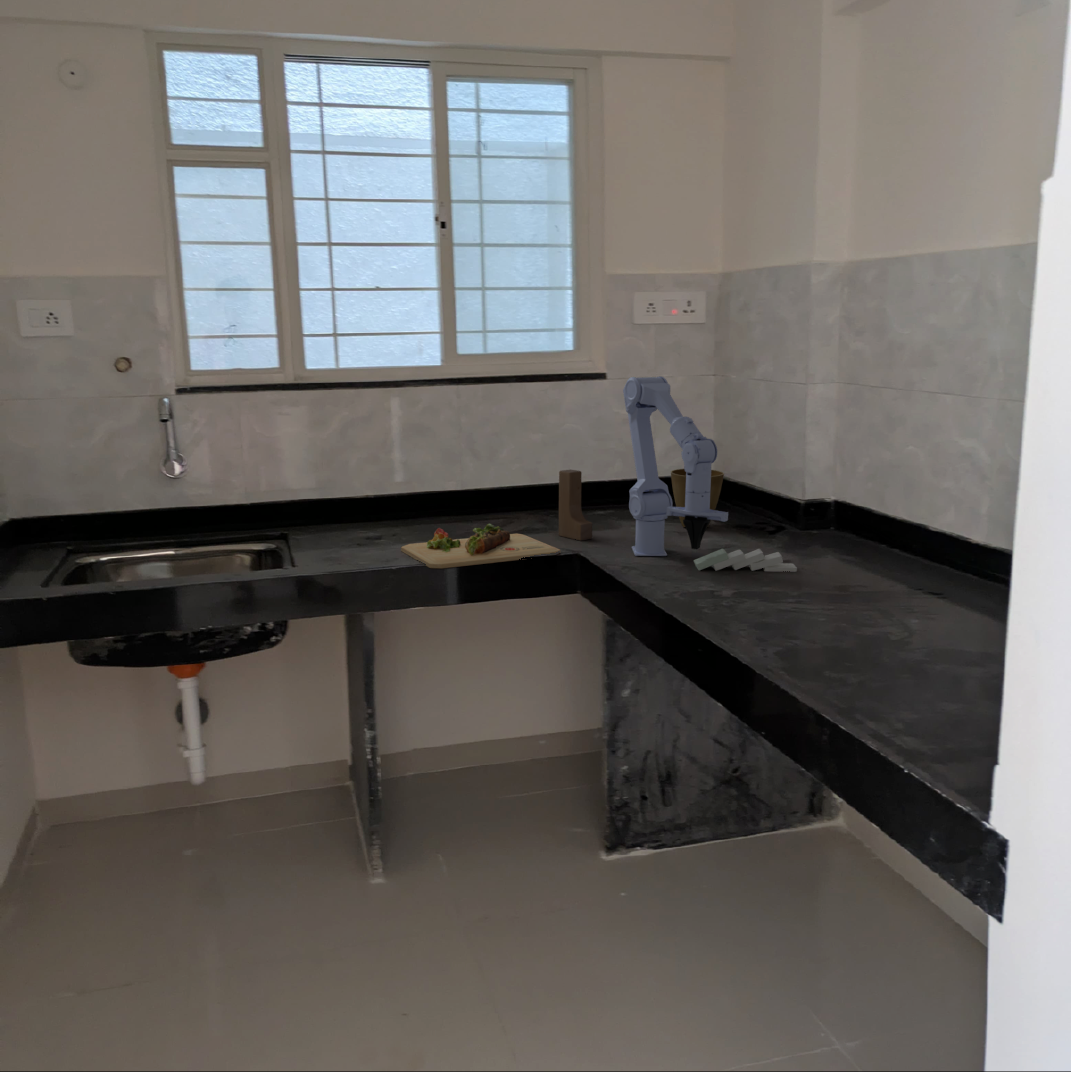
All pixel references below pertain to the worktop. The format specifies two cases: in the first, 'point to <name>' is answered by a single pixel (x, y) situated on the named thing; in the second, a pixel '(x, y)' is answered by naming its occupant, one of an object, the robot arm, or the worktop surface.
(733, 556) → the domino
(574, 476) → the wooden block
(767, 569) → the domino
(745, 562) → the domino
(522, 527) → the worktop surface
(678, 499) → the plant pot
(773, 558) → the domino
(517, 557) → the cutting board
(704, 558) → the domino
